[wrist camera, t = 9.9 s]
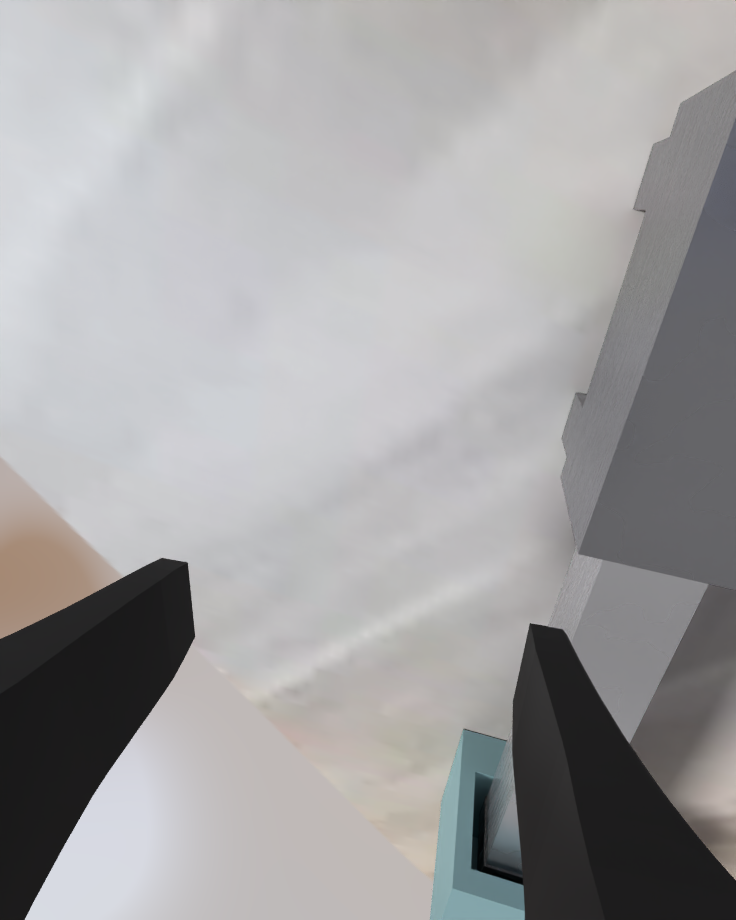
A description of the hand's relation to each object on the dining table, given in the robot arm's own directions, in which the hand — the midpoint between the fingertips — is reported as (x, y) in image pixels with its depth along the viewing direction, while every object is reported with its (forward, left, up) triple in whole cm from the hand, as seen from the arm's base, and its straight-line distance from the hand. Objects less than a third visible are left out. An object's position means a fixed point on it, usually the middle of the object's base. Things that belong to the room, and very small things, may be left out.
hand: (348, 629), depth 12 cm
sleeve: (-7, -6, -9) cm, 13 cm away
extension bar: (-7, +6, -7) cm, 11 cm away
